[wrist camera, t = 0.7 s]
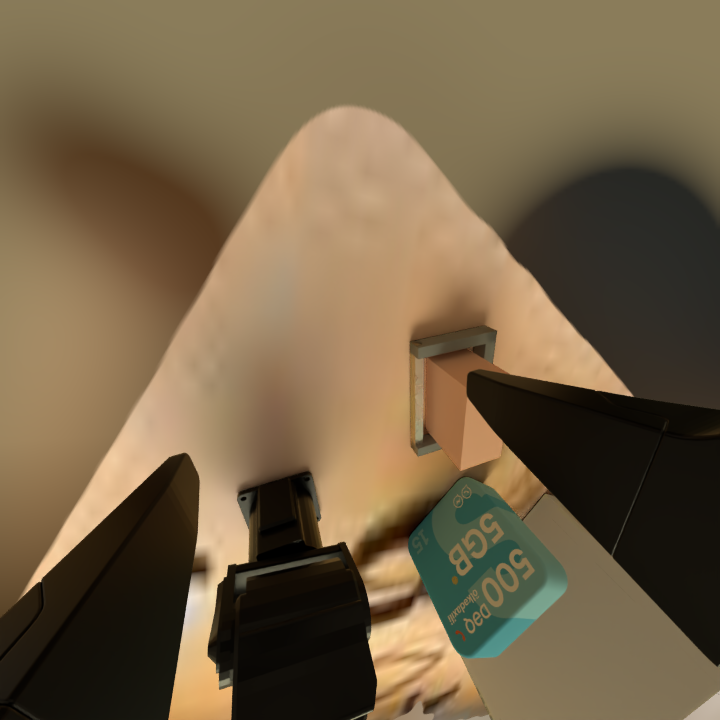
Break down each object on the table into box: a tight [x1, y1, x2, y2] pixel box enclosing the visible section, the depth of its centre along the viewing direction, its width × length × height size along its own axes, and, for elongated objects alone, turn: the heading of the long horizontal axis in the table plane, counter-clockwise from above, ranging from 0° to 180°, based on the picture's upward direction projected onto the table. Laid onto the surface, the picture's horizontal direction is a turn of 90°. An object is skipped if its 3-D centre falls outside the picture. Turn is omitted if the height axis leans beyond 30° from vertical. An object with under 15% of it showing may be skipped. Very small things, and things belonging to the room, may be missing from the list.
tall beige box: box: [425, 348, 509, 471], centre depth 26 cm, size 8×4×6 cm, turn 5°
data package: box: [408, 477, 568, 658], centre depth 31 cm, size 12×4×12 cm, turn 141°
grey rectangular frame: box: [410, 326, 497, 457], centre depth 28 cm, size 12×8×2 cm, turn 5°
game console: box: [461, 494, 720, 720], centre depth 38 cm, size 6×27×20 cm, turn 149°
